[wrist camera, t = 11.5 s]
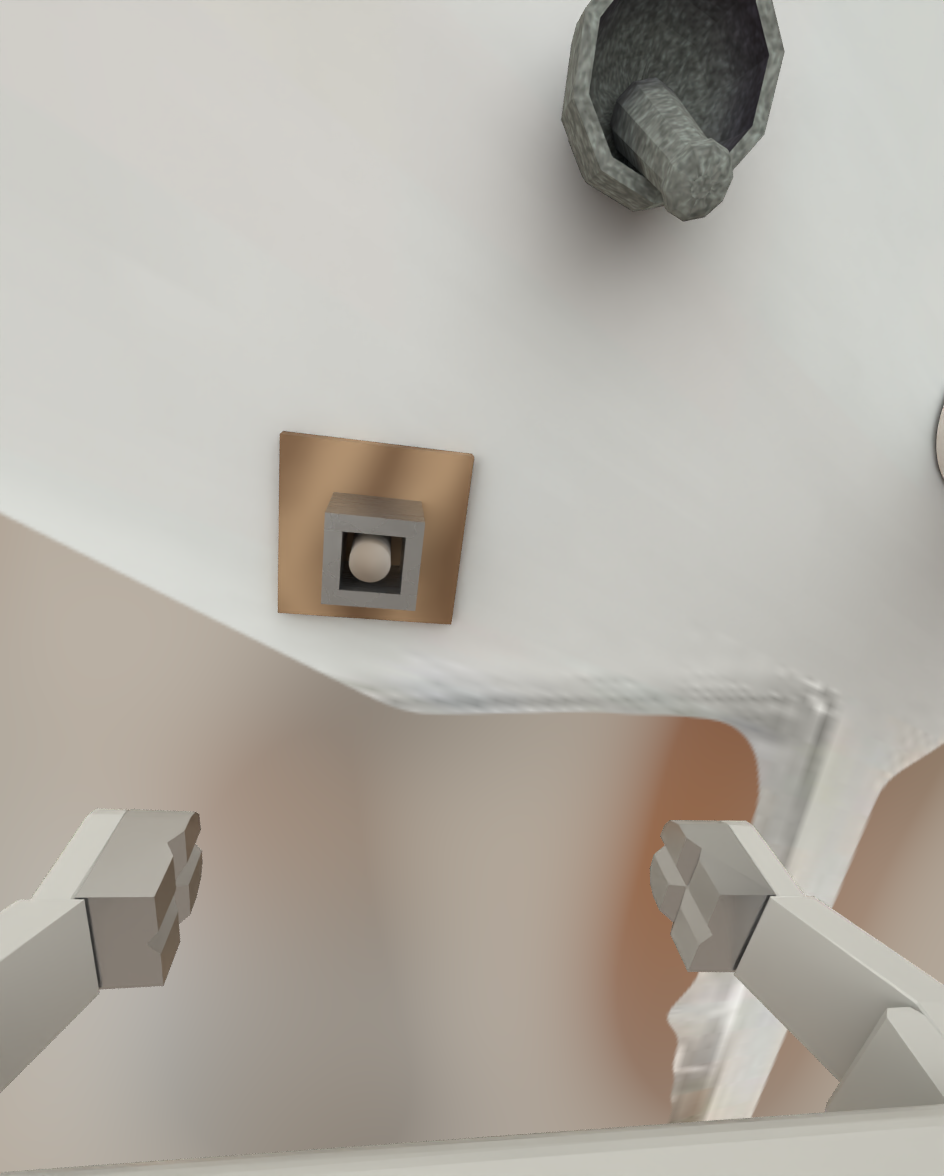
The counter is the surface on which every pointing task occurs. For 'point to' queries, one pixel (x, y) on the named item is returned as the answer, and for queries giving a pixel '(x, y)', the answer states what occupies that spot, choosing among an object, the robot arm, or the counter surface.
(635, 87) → the mortar and pestle
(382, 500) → the square sleeve
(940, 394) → the counter surface
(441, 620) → the post block
